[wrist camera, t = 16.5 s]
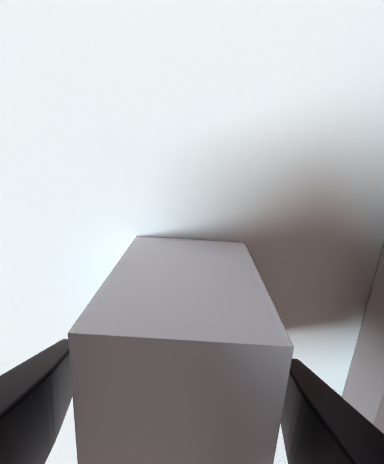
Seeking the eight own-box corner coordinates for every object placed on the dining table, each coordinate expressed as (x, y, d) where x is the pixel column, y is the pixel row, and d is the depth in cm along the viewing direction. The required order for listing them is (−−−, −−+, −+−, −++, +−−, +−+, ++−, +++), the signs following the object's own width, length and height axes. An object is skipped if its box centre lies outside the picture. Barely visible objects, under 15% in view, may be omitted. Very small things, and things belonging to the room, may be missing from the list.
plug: (233, 333, 12) (265, 505, 6) (137, 327, 12) (80, 493, 6) (243, 241, 11) (293, 347, 5) (137, 235, 11) (67, 332, 5)
